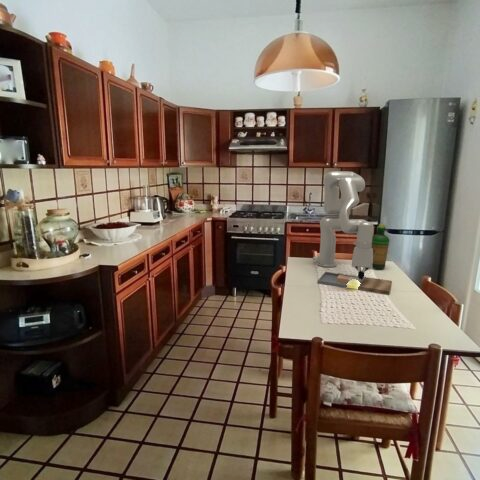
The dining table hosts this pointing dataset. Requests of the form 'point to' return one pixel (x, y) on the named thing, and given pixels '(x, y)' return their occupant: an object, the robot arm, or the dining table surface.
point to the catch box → (334, 280)
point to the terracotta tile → (343, 279)
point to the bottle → (380, 248)
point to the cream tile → (354, 278)
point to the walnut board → (376, 285)
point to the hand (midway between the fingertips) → (360, 278)
